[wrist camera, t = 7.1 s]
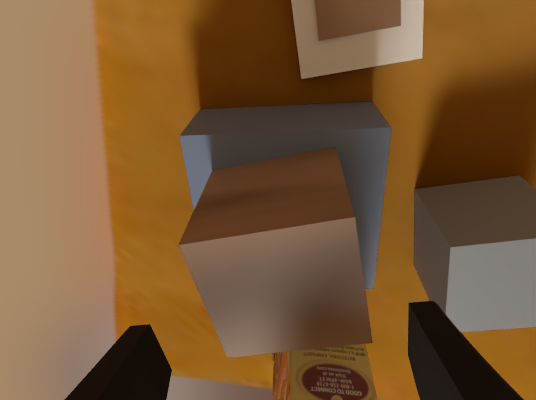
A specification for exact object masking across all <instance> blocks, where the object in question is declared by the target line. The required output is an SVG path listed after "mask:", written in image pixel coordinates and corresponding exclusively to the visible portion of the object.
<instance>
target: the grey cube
mask: <svg viewBox="0 0 536 400" xmlns="http://www.w3.org/2000/svg"><path fill="white" fill-rule="evenodd" d="M414 266H415V269H416V271H417V273H418V275H419V278H420V280H421V282H422V284H423V287H424V289H425V291H426V293H427V296H428V298H429V300H430V301H434V302H436V303H437V304H438V305H439V307H440V308H441V309H442V310H443V312H444V313H445V314H446V315H447V317H448V318H449V319H450V320H451V321H452V323H453V324H454V325H455V326H456V327H457V329H458V330H459V331H460V332H471V331H485V330H499V329H512V328H526V327H536V188H535V187H533V186H532V185H531V184H530V183H528V182H527V181H526V180H525V179H523V178H522V177H521V176H520V175H519V176H511V177H504V178H496V179H488V180H481V181H473V182H465V183H458V184H450V185H442V186H434V187H427V188H419V189H415V196H414Z"/></svg>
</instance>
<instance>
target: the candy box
mask: <svg viewBox="0 0 536 400" xmlns="http://www.w3.org/2000/svg"><path fill="white" fill-rule="evenodd" d="M272 400H377V395H376V391H375V386H374V381H373V376H372V372H371V368H370V363H369V359H368V354H367V350H366V345H365V344H356V345H347V346H337V347H327V348H317V349H307V350H298V351H288V352H278V353H276V354H275V360H274V368H273V398H272Z"/></svg>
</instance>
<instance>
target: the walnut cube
mask: <svg viewBox="0 0 536 400" xmlns="http://www.w3.org/2000/svg"><path fill="white" fill-rule="evenodd" d="M179 248H180V250H181V252H182V254H183V257H184V259H185V261H186V264H187V266H188V268H189V271H190V273H191V275H192V277H193V280H194V282H195V284H196V287H197V289H198V291H199V293H200V296H201V298H202V300H203V303H204V305H205V307H206V309H207V312H208V314H209V316H210V319H211V321H212V323H213V325H214V328H215V330H216V332H217V335H218V337H219V339H220V342H221V344H222V346H223V348H224V351H225V353H226V355H227V358H229V357H239V356H249V355H258V354H268V353H278V352H288V351H298V350H307V349H317V348H327V347H337V346H347V345H356V344H366V343H372V336H371V329H370V322H369V314H368V307H367V300H366V293H365V285H364V278H363V271H362V264H361V256H360V249H359V242H358V235H357V227H356V220H355V215H354V211H353V208H352V204H351V200H350V197H349V193H348V189H347V186H346V182H345V178H344V175H343V171H342V167H341V164H340V160H339V156H338V153H337V149H336V147H331V148H326V149H321V150H315V151H310V152H305V153H300V154H295V155H290V156H284V157H279V158H274V159H269V160H264V161H259V162H254V163H248V164H243V165H238V166H233V167H228V168H223V169H217V170H212V172H211V174H210V176H209V178H208V181H207V183H206V185H205V187H204V190H203V192H202V194H201V196H200V198H199V201H198V203H197V205H196V207H195V210H194V212H193V214H192V216H191V218H190V221H189V223H188V225H187V227H186V230H185V232H184V234H183V236H182V238H181V241H180V243H179Z"/></svg>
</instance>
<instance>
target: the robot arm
mask: <svg viewBox="0 0 536 400" xmlns="http://www.w3.org/2000/svg"><path fill="white" fill-rule="evenodd" d="M408 356H409V360H410V364H411V368H412V372H413V376H414V379H415V383H416V387H417V390H418V394H419V397H420V400H524V399H523V398H522V397H521V396H520V395H519V394H518V393H517V392H516V391H515V390H514V389H513V388H512V387H511V386H510V385H509V384H508V383H507V382H506V381H505V380H504V379H503V378H502V377H501V376H500V375H499V374H498V373H497V372H496V371H495V370H494V369H493V368H492V366H491V365H490V364H489V363H488V362H487V361H486V360H485V359H484V358H483V357H482V356H481V355H480V354H479V352H478V351H477V350H476V349H475V348H474V347H473V346H472V345H471V344H470V342H469V341H468V340H467V339H466V338H465V337H464V336H463V334H462V333H461V332H460V331H459V330H458V329H457V327H456V326H455V325H454V324H453V323H452V321H451V320H450V319H449V318H448V317H447V315H446V314H445V313H444V312H443V310H442V309H441V308H440V307H439V305H438V304H437V303H436V302H434V301H425V302H413V303H409V321H408ZM171 371H172V369H171V367H170V365H169V363H168V361H167V359H166V357H165V355H164V353H163V351H162V348H161V346H160V344H159V342H158V340H157V338H156V336H155V334H154V332H153V330H152V328H151V326H150V324H149V325H137V326H130V327H129V328H128V329H127V330H126V331H125V332H124V334H123V335H122V336H121V337H120V338H119V339H118V340H117V341H116V343H115V344H114V345H113V346H112V347H111V348H110V349H109V350H108V352H107V353H106V354H105V355H104V357H102V359H101V360H100V361H99V362H98V363H97V364H96V365H95V367H94V368H93V369H92V370H91V371H90V372H89V373H88V374H87V376H86V377H85V378H84V379H83V380H82V381H81V382H80V383H79V384H78V386H77V387H76V388H75V389H74V390H73V391H72V392H71V393H70V395H68V397H67V398H66V399H65V400H166V398H167V393H168V387H169V382H170V377H171Z"/></svg>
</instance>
